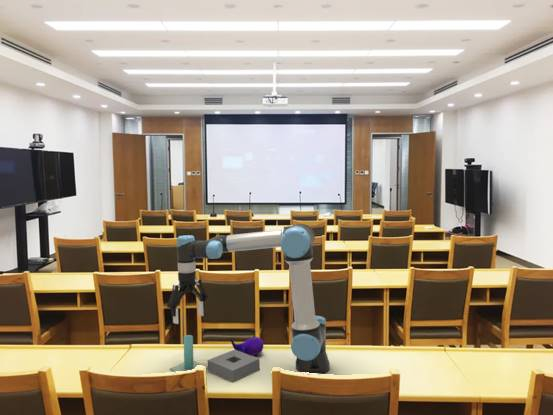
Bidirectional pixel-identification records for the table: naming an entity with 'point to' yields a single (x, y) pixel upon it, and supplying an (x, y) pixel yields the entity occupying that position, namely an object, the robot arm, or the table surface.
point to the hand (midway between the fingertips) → (188, 319)
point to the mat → (181, 367)
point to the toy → (249, 346)
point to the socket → (233, 365)
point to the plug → (188, 352)
